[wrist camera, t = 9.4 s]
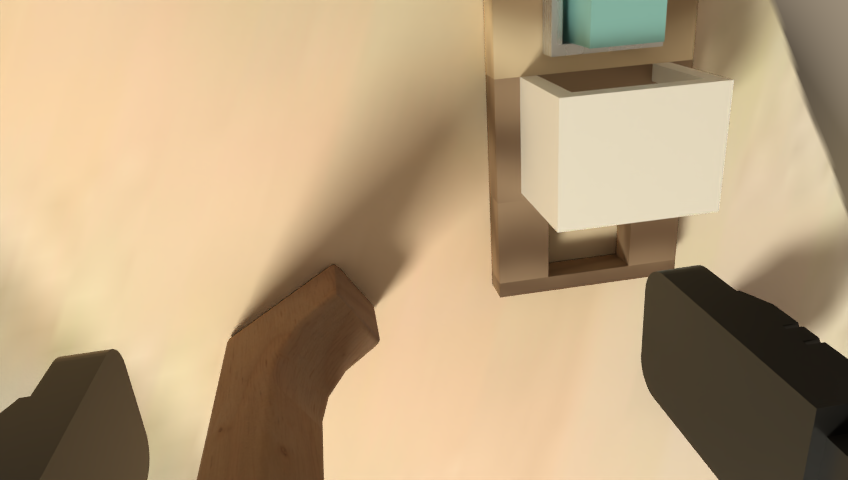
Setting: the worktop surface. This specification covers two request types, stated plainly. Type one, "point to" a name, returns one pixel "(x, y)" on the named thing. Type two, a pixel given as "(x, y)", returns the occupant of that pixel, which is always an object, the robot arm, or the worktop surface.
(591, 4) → the block
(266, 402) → the wooden block
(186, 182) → the worktop surface
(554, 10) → the grey angular piece
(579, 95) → the cream open box
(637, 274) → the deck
